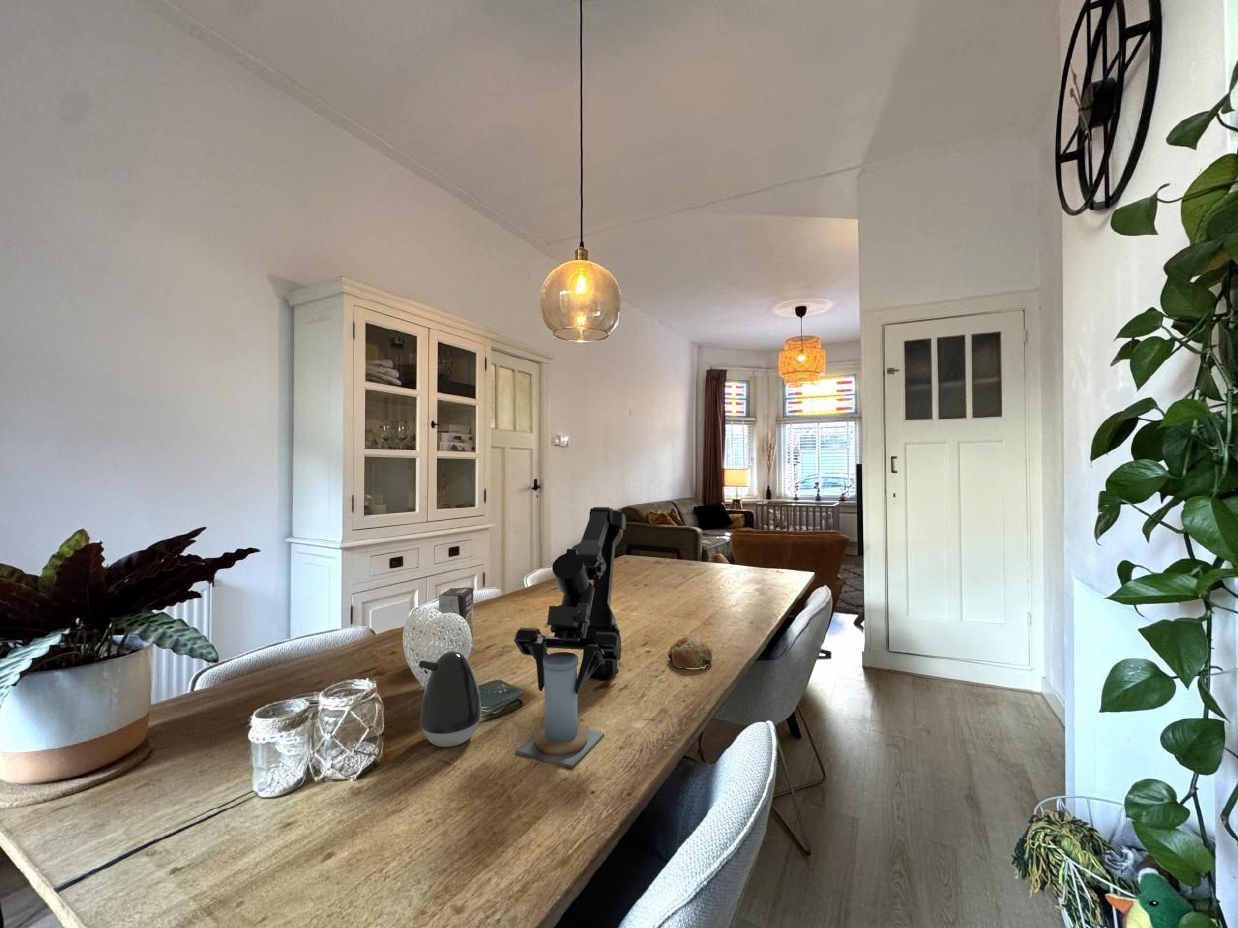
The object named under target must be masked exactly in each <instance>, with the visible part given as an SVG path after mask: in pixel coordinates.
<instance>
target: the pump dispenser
mask: <svg viewBox="0 0 1238 928" xmlns="http://www.w3.org/2000/svg"><path fill="white" fill-rule="evenodd" d="M419 667H420V668H421V669H423V668H425V669H428V670H431V674H430V676H429V678H428V681H427V684H426V688H425V687H424V692H423V697H422V702H421V709H420V718H419V719H420V728H421V729H422V730H423V731H422V732H423V734H424V736H425V738H426V739H427V740H428V742H429V743H431V744H432V745H434V746H437V747H439V748H440V747H441V748H450V747H455V746H456V747H457V746H459V745H461V744H463V743H465V742H466V741H468V740H469V739H470V738H471V737H472V736H473V735H474V733H475V732H476V730H477V728H478V726H479V723H480V720H481V718H482V714H483V713H482V702H481V694H480V690H479V684H478V680H477V679H476V676H475V673H474V670H473V668H472V666H471V664H470V662H469V659H468V660H467V659H466V658H465V656H464V655H463V654H461V653H459V652H456V651H450V652H447V653H445V654H443V655H442V656H441V657H440V658H439V659H438V660H437V662H436V663H435V662H429V661H423V660H421V661H420V662H419Z"/></svg>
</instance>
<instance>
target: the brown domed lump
mask: <svg viewBox="0 0 1238 928" xmlns="http://www.w3.org/2000/svg"><path fill="white" fill-rule="evenodd" d="M669 647H670V648H669V650H668V651H667V656H668V659H669V662H670V663H671V662H672V663H673V664H674V665H676V666H678V667H681V668H700V667H705V665H707V664H709V663H710V664H711V663H712V660H713V659H712V658H713V654H712V650H711V648H710V646H709V645H707V643H706V642H705V641H703V640H702V639H701V638H698V637H697V638H696V637H692V636H686V637H683V638H680V639H678V640H676V641H675V642H674V643H672V644H671V645H670V646H669ZM672 663H671V664H672ZM673 664H672V665H673ZM710 664H709V665H710ZM674 665H673V666H674ZM676 666H675V667H676ZM678 667H677V668H678Z"/></svg>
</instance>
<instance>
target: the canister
mask: <svg viewBox="0 0 1238 928" xmlns="http://www.w3.org/2000/svg"><path fill="white" fill-rule="evenodd" d="M578 665H579V656H578V654H576V653H574V652H568V651H559V652H557V651H556V652H553V653H549V654H548V655H546V656H545V657H544V658H543V667H544V688H543V690H544V691H543V692H544V694H543V695H544V696H543V697H544V726H545V738H546V739H547V740H549V741H551V742H555V743H563V742H568V741H571V740H573V739H574V738H576V736H577V734H578V724H579V723H578V694H576V693H575V689H576V682H577V678H578Z"/></svg>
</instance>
